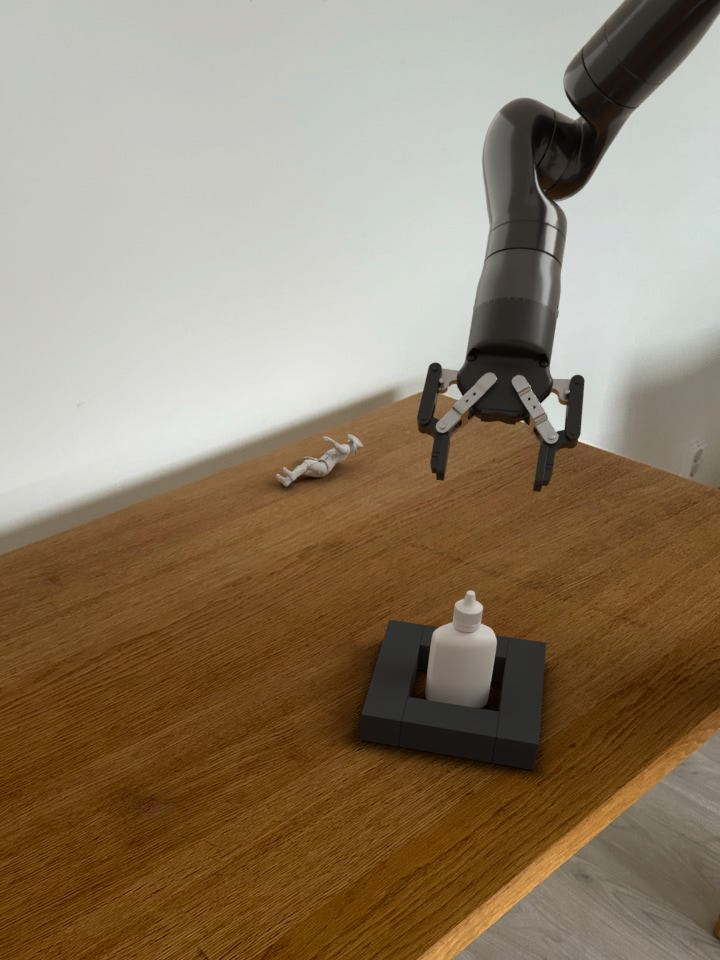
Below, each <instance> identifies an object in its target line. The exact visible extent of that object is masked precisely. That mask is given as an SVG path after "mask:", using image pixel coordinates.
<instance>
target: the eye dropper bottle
mask: <svg viewBox="0 0 720 960" xmlns="http://www.w3.org/2000/svg"><path fill="white" fill-rule="evenodd" d="M483 612H484V605H482V603H481V602H480V601H478V600H476V592H475V591H474V590H467V591H466V593H465V596H464V598H462V599H459V600H457V601H456V602H455V603H454V607H453V616H452V622H449V623H446V624H444V625H441V626H438V627H439V628H438V629H436V630H435V631H434V632H433V635H432V640H431V647H430V655H429V663H428V671H426V679H425V687H424V688H425V689H424V696H425V700H430V701H437V702H443V703H449V704H455V705H461V706H467V707H473V708H479V709H483V708H484V707H485V706H486V705H487V704H488V701H489V696H490V690H491V685H492V684H491V683H492V681H491V678H492V672H493V666H494V660H495V653H496V646H497V639H496V636H495V635H496V633H495V632H494V630H493V628H491V627H490V626H489V625H488V626H487V625H486V624H484V623H482V618H483Z"/></svg>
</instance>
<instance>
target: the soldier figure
mask: <svg viewBox="0 0 720 960" xmlns="http://www.w3.org/2000/svg"><path fill="white" fill-rule="evenodd" d="M322 438H323V440H324V443H330V444H331V446H332V447H333V448H331V449H328V450H327V451H325V453H324V454H323V455H322V456H321V457H320V458H318V457H317V458H316V457H312V456H304V457H302V460H303V462H301V464H299V465H297V466H296V467H295V468H294V469H293V470H292V471H291V470H289V469H287V467H286V466H284V467H282V470H283V471H282V472H283V474H284V475H285V477H284V476H282V475H281V474H280V473H276V474H275V477H276V479H277V480H278V482H279V483H280V484H282V485H283V487H286V488H288V486H289V485H290V484H291V483H292V482H294V481H296V480H297V478H298V477H300V476H306V477H312V478H322V477H326V476H327V475H328V474H329V473H330V472H331V471H332V470H333V468H334V467H335V466H336V465H337V464H339V463H341V462H344V461H345V460H347V457H348V456H349V454H350V452H351V453H352V454H354V455H357V454H358V453H359V451H360V449H364V446H363V443H362V441H361V440H360V439H359V438H357V437H356V436H355V435H353V434H350V433H347V438H348V440H346V442H347V444H345V443H340V444H339V442H337V441H335V440H334V439H333V438H331V437H328V436H322Z"/></svg>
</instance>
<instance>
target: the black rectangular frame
mask: <svg viewBox="0 0 720 960" xmlns="http://www.w3.org/2000/svg"><path fill="white" fill-rule="evenodd" d="M439 627H440V626H436V625H429V624H423V623H415V622H409V621H401V620H395V619H388V622H387V626H386V629H385V633H384V636H383V639H382V643H381V646H380V649H379V651H378V652H379V653H378V656H377V660H376V663H375V666H374V670H373V673H372V675H371V680H370V683H369V687H368V690H367V694H366V696H365V699H364V704H363V707H362V711H361V713H360V728H359V741H364V742H369V743H375V744H381V745H386V746H387V745H388V746H392V747H398V748H404V749H409V750H414V751H421V752H426V753H433V754H438V755H443V756H450V757H456V758H460V759H466V760H473V761H478V762H485V763H489V764H495V765H500V766H507V767H513V768H518V769H523V770H528V771H534V770H535V764H536V761H537V755H538V750H539V746H540V735H541V720H542V706H543V693H544V679H545V666H546V654H547V653H546V652H547V649H546V648H547V642H544V641H539V640H531V639H530V640H529V639H524V638H518V637H512V636H511V637H510V636H504V635H498V634H495V636H496V639H497V646H496V653H495V660H494V666H493V672H492V678H491V683H492V682H493V683H499V684H501V685H500V695H499V700H498V701H499V702H498V709H497V710H490V709H485V708H473V707H467V706H461V705H455V704H449V703H443V702H437V701H430V700H426V699H423V698H419V697H412V693H413V688H414V684H415V680H416V676H417V672H418V671H423V672H427V671H428V663H429V655H430V647H431V640H432V635H433V632H434V631H435V630H436V629H438V628H439Z"/></svg>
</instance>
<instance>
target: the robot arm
mask: <svg viewBox="0 0 720 960" xmlns="http://www.w3.org/2000/svg"><path fill="white" fill-rule="evenodd" d="M719 16H720V0H623V1H622V2H621V3H620V4H619V6H618V7H617V8H616V9H615V10H614V11H613V12H612V14H610V16H609V17H608V18H607V19H606V20H605V21H604V22H603V23H602V24H601V26H600V27H599V28H598V29H596V31H595V33H593V35H592V36H591V37H590V38H589V39H588V40H587V41H586V43H585V44H584V45H583V46H582V47H581V48H580V49H579V50H578V52H577V53H576V54H575V55H574V56H573V57H572V59H571V60H570V62H569V63H568V65H567V66H566V69H565V71H564V73H563V78H562V85H563V90H564V91H563V92H564V94H565V96H566V98H567V100H568V102H569V103H570V105H571V106H572V107H573V109H574V110H575V112H577V114H578V115H579V117H578V118H576V119H574V118H572V117H569V116H567V114H564V113H562V112H561V111H558V110H556V109H554V108H552V107H550V106H549V105H547V104H545V103H543V102H541V101H540V100H537V99H534V98H531V97H518V98H515V99H512V100H510V101H509V102H507V103H505V104H504V106H502V107H501V108H500V109H499V110H498V111H497V112H496V114H495V115H494V117H493V119H492V120H491V122H490V124H489V126H488V128H487V131H486V133H485V137H484V141H483V146H482V155H481V156H482V157H481V169H482V178H483V179H482V180H483V186H484V194H485V195H484V196H485V204H486V211H487V219H488V225H489V227H488V228H489V229H488V234H487V241H486V248H485V254H484V261H483V265H482V270H481V273H480V276H479V279H478V283H477V287H476V291H475V298H474V303H473V307H472V316H471V322H470V329H469V333H468V341H467V346H466V351H465V352H466V353H465V359H464V363H463V364H462V366H461V367H460V368H459V370H457V369H449V368H443V367H442V365H441V363H440V362H437V361H436V362H432V363H430V364H429V365H428V368H427V372H426V377H425V380H424V381H425V382H424V386H423V389H422V394H421V398H420V402H419V407H418V411H417V415H416V422H417V423H416V424H417V430H418V432H420V434H423V435H424V434H426V435H428V436H430V437H432V438H433V443H432V450H431V457H430V460H429V461H430V463H429V464H430V465H429V466H430V471H431V473H432V474H435V477H436V478H435V480H436V481H441V482H442V481H443V482H444V481H445V479H446V472H447V467H448V460H449V454H450V448H451V438H452V437H453V436H454V435H455V434H456V433H457V432H459V430H460V429H463V428H464V427H466V426H467V425H468V424H469V423H470V422H471V421H472V420H473V419H474V418H475V417H476V419H479V420H480V422H483V423H493V422H500V423H503V424H506V425H513V426H516V425H517V423H520V422H523V423H524V425H525V427H526V428H527V430H528V432H529V433H530V435H531V436H533V437H534V439H535V441H536V442H537V443H538V445H539V449H538V452H537V458H536V464H535V465H536V466H535V472H534V479H533V485H532V492H539V493H541V492H542V488H543V487H548V486H549V485H550V483H551V481H552V477H553V472H554V465H555V457H556V453H557V452H558V451H560V450H562V449H570V450H573V449H574V448H576V447H577V445H578V442H579V438H580V437H581V434H582V421H583V419H582V418H583V409H584V395H585V381H586V380H585V377H583V376H582V374H574V375H572V376H571V378H569V379H568V378H553V376H552V374H551V370H550V369H551V368H550V367H551V361H552V355H553V348H554V341H555V334H556V328H557V321H558V317H559V312H560V311H559V309H560V301H561V293H562V292H561V291H562V280H561V279H562V269H563V268H562V267H563V262H564V255H565V249H566V243H567V242H566V241H567V236H568V235H567V234H568V219H567V216H566V213H565V211H564V209H563V208H562V207H561V206H560V205H559V204H558V202H563V201H566V200H568V199H570V198H572V197H574V196H576V195H578V194H579V192H581V191H582V190H584V188H585V187H586V186H587V185H588V183H589V182H590V180H591V179H592V177H593V176H594V174H595V172H596V171H597V169H598V167H599V165H600V164H601V161H602V160H603V159H604V157H605V155H606V153H607V152H608V150H609V149H610V147H611V146H612V144H613V142H614V141H615V139H616V138H617V136H618V135H619V133H620V131H621V130H622V129H623V127H624V125H625V123H626V122H627V121H628V119H629V118H630V117H631V115H632V114H633V113H634V112H635V111H636V110H637V109H638V108H639V107H640V106H641V105H643V103H644V102H645V101H646V100H647V99H648V98H649V97H650V96H651V95H653V93H654V92H656V90H658V88H659V87H660V86H661V85H663V83H664V82H666V80H667V79H669V77H670V76H671V75H673V73H674V72H675V71H676V70H677V69H678V68H679V67H680V66H681V65H682V64H683V63H684V61H685V60H687V58H689V56H690V55H691V53H693V51H694V50H695V49H696V48H697V46H698V45H699V43H700V42H701V41H702V40H703V38H704V37H705V35H706V34H707V33H708V32H709V30H710V29H711V27H712V26H713V24H714V23H715V22H716V20H717V18H718V17H719ZM452 385H456V386H457V389H458V391H459V392H460V395H461V397H460V398H459V399H458V400H457V401H456V402H455V403H454V404H453V405H452V408H451V409H450V410H448V412H446V414H444V416H442V417H441V418H440V419H438V418H437V417H435V413H436V408H437V404H438V400H439V396H440V394H441V395H443V394H446V393H447V392H448V390H449V388H450V387H451V386H452ZM551 393H553V394H554V395H556V396H557V401H558V403H559V404H560V405H563V406H565V408H566V409H565V417H564V429H560V430H556V429H555V427H554V425H553V424H552V423H551V421H550V419H549V418H548V413H547V412H546V410H545V409H544V407H543V405H542V403H543V402H544V401H546V399H548V397H549V396H550V395H551Z"/></svg>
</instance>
